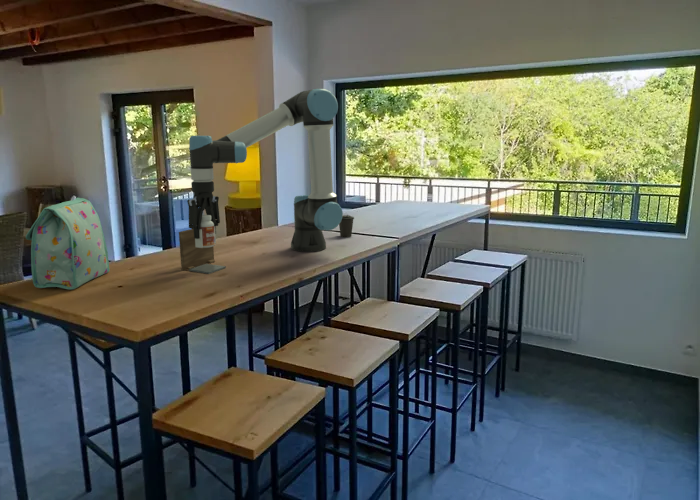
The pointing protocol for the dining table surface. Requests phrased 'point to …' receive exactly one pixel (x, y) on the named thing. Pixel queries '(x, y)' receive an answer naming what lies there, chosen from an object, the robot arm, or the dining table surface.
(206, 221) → the pill bottle
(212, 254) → the wooden board
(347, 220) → the coffee cup
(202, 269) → the coaster
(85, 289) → the dining table surface
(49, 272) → the lunch bag
